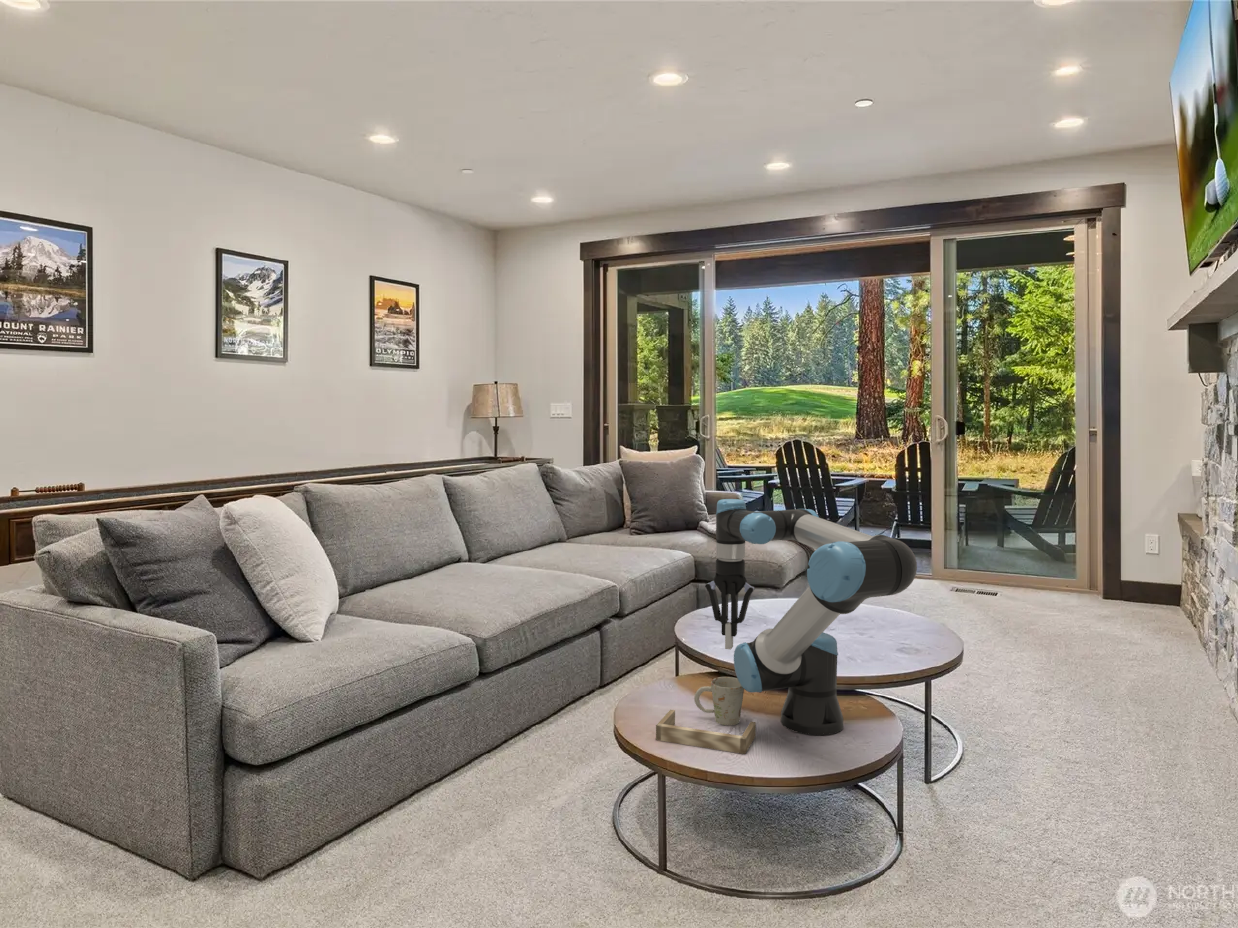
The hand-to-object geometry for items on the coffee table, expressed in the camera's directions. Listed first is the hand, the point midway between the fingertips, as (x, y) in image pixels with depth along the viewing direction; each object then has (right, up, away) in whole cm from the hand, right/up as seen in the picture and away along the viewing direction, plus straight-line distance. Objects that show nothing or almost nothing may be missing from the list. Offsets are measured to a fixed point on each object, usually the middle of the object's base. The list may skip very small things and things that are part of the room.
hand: (729, 647), depth 212 cm
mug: (-4, -17, -8) cm, 19 cm away
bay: (-8, -17, -19) cm, 27 cm away
